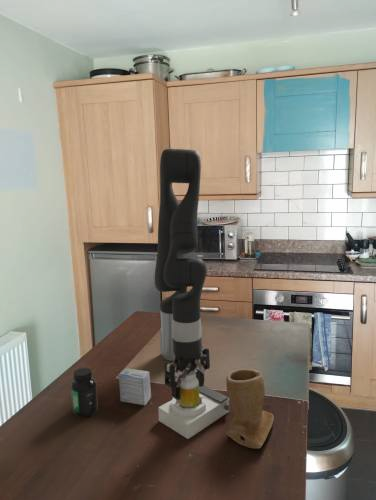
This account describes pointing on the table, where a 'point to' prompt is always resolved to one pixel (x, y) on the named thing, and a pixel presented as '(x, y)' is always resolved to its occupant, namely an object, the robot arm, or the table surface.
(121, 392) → the medicine box
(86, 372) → the supplement bottle
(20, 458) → the table surface
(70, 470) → the table surface
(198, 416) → the white recessed base
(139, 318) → the table surface
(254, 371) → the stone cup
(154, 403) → the table surface
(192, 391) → the supplement bottle
